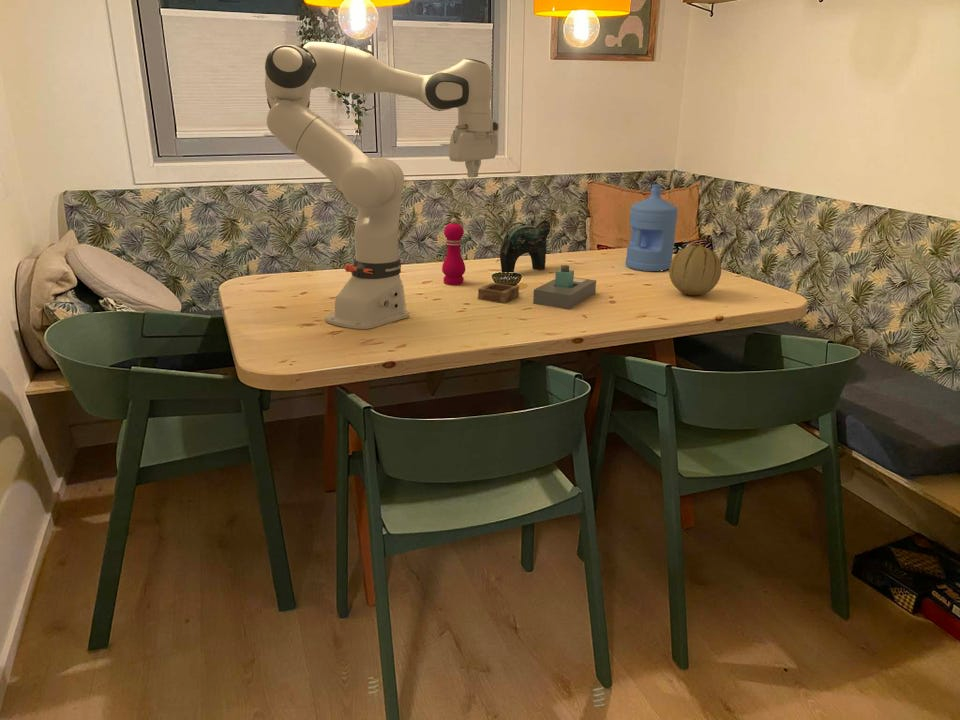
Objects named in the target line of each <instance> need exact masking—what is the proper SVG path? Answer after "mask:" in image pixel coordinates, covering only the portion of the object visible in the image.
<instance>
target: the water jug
mask: <svg viewBox="0 0 960 720" xmlns="http://www.w3.org/2000/svg"><path fill="white" fill-rule="evenodd" d="M661 188H662V184H659V183H658V184H657V183H655V184H654V183H652V184H651V189H650V191H651V192H650V195H649V197H648V198H645V199H642V200H641V201H638V202H636V203H633V204H632V205H631V206H630V207H631V208H630V211H629V212H630V213H629V226H630V228H631V232H630V241H629V244H628V245H627V247H626V248H627V250H626V257H625V266H626V267H627V268H629V269H631V268H632V269H631V270H634V269H636V270H635V271H639V270H643V271H642V272H647V271H661V270H667V269H669V270H670V265H671V262H672V259H673V254H674V253H673V252H674V245H675V239H676V235H675V234H676V226H677V220H678V207H677V206H676V205H674V204H672V203H671V202H668V201H667V200H665V199H663V198H662V197H661V192H662V190H661ZM667 271H668V270H667ZM661 272H662V271H661Z"/></svg>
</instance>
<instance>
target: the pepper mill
mask: <svg viewBox="0 0 960 720" xmlns="http://www.w3.org/2000/svg"><path fill="white" fill-rule="evenodd" d="M464 234H465V231H464V228H463V225H462V224H459V223H458V222H457V218H455V217H452V218H451V220H450V223H448V224H446V225H445V227H444V230H443V235H444V237H445V238H446V239H445V244H446V246H447V247H446V248H447V249H446V256H445V258H444V260H443V262H442V265H441V267H442V268H441V271H442V273H443V274H444V276H443V284H445V285H448V286H462V285H463V284H464V281H465V280H464V279H465V278H464V276H463V275H464V274H465V272H466V265H465V262H464V260H463V257H462V254H461V246H462V245H463V242H462V241H463V239H462V237H463V236H464Z"/></svg>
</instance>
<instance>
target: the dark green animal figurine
mask: <svg viewBox="0 0 960 720" xmlns="http://www.w3.org/2000/svg"><path fill="white" fill-rule="evenodd" d="M529 213H532V214H533V218H531V217H530V218H528V219H529V220H530V222H529V224H527V223H523V222H515V223H512V224H511V225H509V226H508V227H507V230H506V233H505V235H504V237H503V240H502V242H501V245H500V248H499V249H500V250H499V261H500V268H501V269H500V271H501V273H502V272H514V273H515V268H516V263H517V260H518V259H519V257H520V256H522V255H524V254H529V257H530V259H531V266H532V270H536V271H541V270H546V260H547V259H546V257H547V238H548V236H549V234H550V233H551V223H550V221H548V220H547V219H545V217H544V215H542V214H541V215H540V217H539V218H536V213H535V212H534V210H528V211H527V212H526V213H525V216H528V215H529ZM515 225H518V226H515ZM513 226H514V227H513Z"/></svg>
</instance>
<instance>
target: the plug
mask: <svg viewBox="0 0 960 720" xmlns="http://www.w3.org/2000/svg"><path fill="white" fill-rule="evenodd" d="M574 275H575V271H574V270H573V269H570V265H567V264H561V265H560V269H558V270H556V271H555V275H554V279H555V286H559V287H566V288H573V280H574V277H575V276H574Z"/></svg>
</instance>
